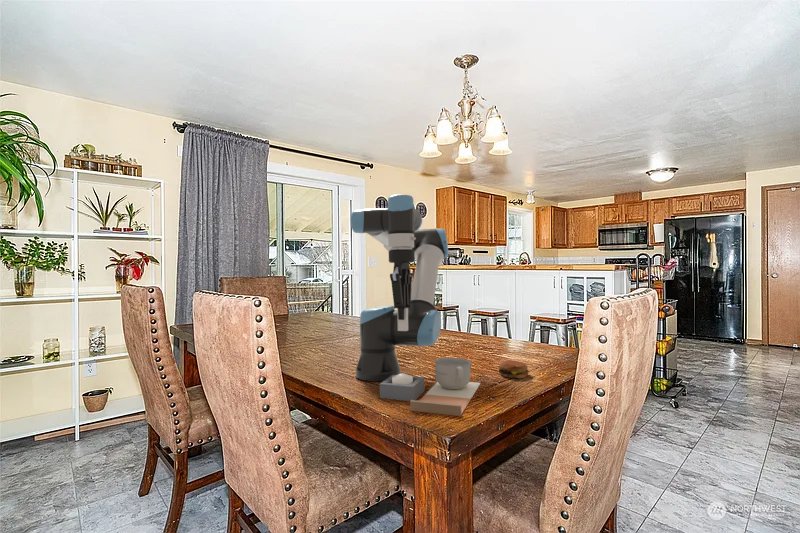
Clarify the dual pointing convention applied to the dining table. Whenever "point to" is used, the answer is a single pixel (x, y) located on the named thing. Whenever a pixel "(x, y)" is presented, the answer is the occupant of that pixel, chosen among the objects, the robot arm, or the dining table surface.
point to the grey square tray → (402, 389)
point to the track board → (445, 400)
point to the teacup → (452, 372)
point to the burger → (513, 369)
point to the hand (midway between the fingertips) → (403, 330)
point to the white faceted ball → (402, 379)
